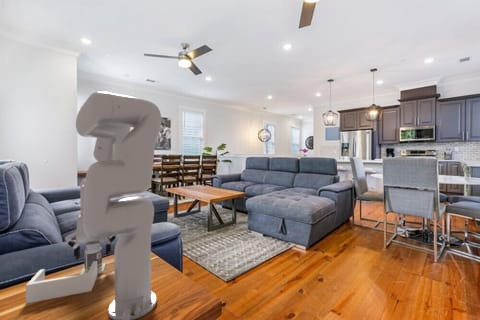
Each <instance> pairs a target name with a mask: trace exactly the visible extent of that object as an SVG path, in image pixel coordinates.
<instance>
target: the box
mask: <svg viewBox="0 0 480 320" xmlns="http://www.w3.org/2000/svg"><path fill="white" fill-rule="evenodd" d="M45 273H46V269H45V268H42V269H41V268H40V269H39V270H38V271H37V272H36V274H35V275H33V277H32V278H31V280H29V281H28V282H27V283H26V284H25V304H31V303H36V302H41V301H42V302H43V301H46V300H52V299H57V298H63V297H68V296H72V295H78V294H83V293H88V292H92V291H93V288H94V285H95V283H96V281H97V278H98V274H97V261H93V263H92V265H91V267H90V269H89V272H88V273H85V274H80V273H79V274H74V275H68V276H62V277H61V276H60V277H57V278H56V277H55V278H51V279H46V278H45V277H46V276H45V275H46V274H45Z"/></svg>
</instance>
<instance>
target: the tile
mask: <svg viewBox="0 0 480 320" xmlns="http://www.w3.org/2000/svg"><path fill="white" fill-rule="evenodd" d="M106 266H107V262H102V267H101V268H100V269H98V270H97V275H98V274H103V273H104V271H105V269H106ZM85 273H88V272H87V271H85V269H84V266H83V268H82V269H81V271H80V273H79V274H85Z"/></svg>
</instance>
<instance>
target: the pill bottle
mask: <svg viewBox="0 0 480 320" xmlns="http://www.w3.org/2000/svg"><path fill="white" fill-rule="evenodd" d="M83 255H84V258H83V259H84V265H83V267H84V269H85V271H87V272H89V269H90V267H91V265H92V263H93V261H97V270H98V269H100V268H101V267H102V263H103V248H102V247H101V241H95V242H87V243H85V250H84V254H83Z"/></svg>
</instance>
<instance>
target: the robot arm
mask: <svg viewBox="0 0 480 320" xmlns="http://www.w3.org/2000/svg"><path fill="white" fill-rule="evenodd" d="M161 126H162V113H161V110H160V109H159V107H158V106H157V105H156V104H155V103H154V102H152V101H149V100H147V99H144V98H139V97H135V96H130V95H123V94H119V93H118V94H117V93H112V92H109V91H95V92H92V93H91V94H90V95H89V97H88V98H86V100H85V102H84V103H83V104H82V105H81V107H80V108H79V111H78V113H77V116H76V120H75V129H76V132H77V133H78V135H79V136H80V137H83V138H96V140H95V145H94V149H93V153H92V154H93V158H94V159H95V160H96V161H95V162H94V163H93V162H92V164H91V165H90V166H89V167H88V169H87V171H86V175H85V178H83V179H82V180H80V183H79V186H80V188H79V189H80V191H79V193H80V196H79V197H80V198H79V199H80V202H79V204H80V214H79V215H78V216H77V223H76V231H74V232H71V233H70V234H68V235H66V236H65V237H64V240H65V242H66V243H67V245H69V246H70V247H71V248H72V249H73V256H74V257H75V261H76V260H79V259H80V257H81V246H80V244H84V243H85V244H86V243H88V242H95V241H100V242H101V241H103V242H105V244H106V245H105V255H106V256H108V255H109V254H110V253H111V251H112V243H113V242H114V241H115V240H116V238H117V237H118V236H119V237H118V239H117V240H116V243H115V246H114V249H113V251H114V252H113V253H114V254H113V257H114V258H113V259H114V263H113V264H114V266H113V267H114V271H113V272H114V299H113V301H112V302H111V303H110V304H109V306H108V313H107V314H108V316H109V318H110V319H112V320H136V319H139V318H141V317H143V316H146V315H147V314H148V313H150V312H151V311H152V310H153V309H154V308H155V307H156V304H157V302H158V301H157V299H158V298H157V295H156V293H155V292H153V290H152V266H151V265H152V260H151V259H152V258H151V256H152V242H151V241H152V230H153V223H154V217H155V207H154V204H153V202H152V201H151V199H149V198H147V197H144V196H140V195H139V196H138V194H142V193H145V192H147V191H148V190H149V189H150V187H151V184H152V180H153V169H154V158H155V150H156V149H155V147H156V143H157V140H158V137H159V135H160V134H159V133H160V131H161V128H162V127H161ZM131 128H132V129H131ZM130 195H131V196H130ZM132 195H137V196H132ZM123 196H128V197H123ZM74 237H75V240H76V242H75V241H74V240H72V238H74Z"/></svg>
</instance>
